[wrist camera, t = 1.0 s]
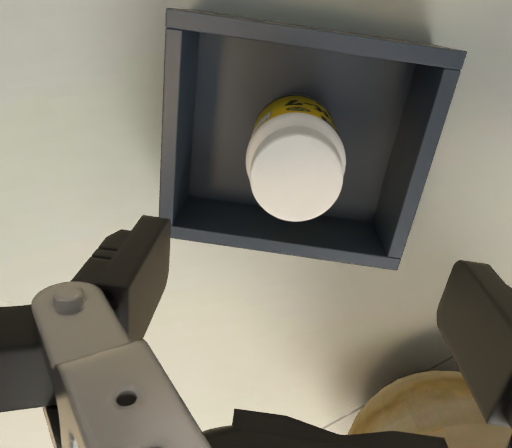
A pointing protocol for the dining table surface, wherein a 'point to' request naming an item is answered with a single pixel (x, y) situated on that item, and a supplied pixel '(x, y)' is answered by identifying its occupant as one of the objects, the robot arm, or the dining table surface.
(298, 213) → the supplement bottle
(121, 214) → the dining table surface
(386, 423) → the decorative ball
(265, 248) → the open box
